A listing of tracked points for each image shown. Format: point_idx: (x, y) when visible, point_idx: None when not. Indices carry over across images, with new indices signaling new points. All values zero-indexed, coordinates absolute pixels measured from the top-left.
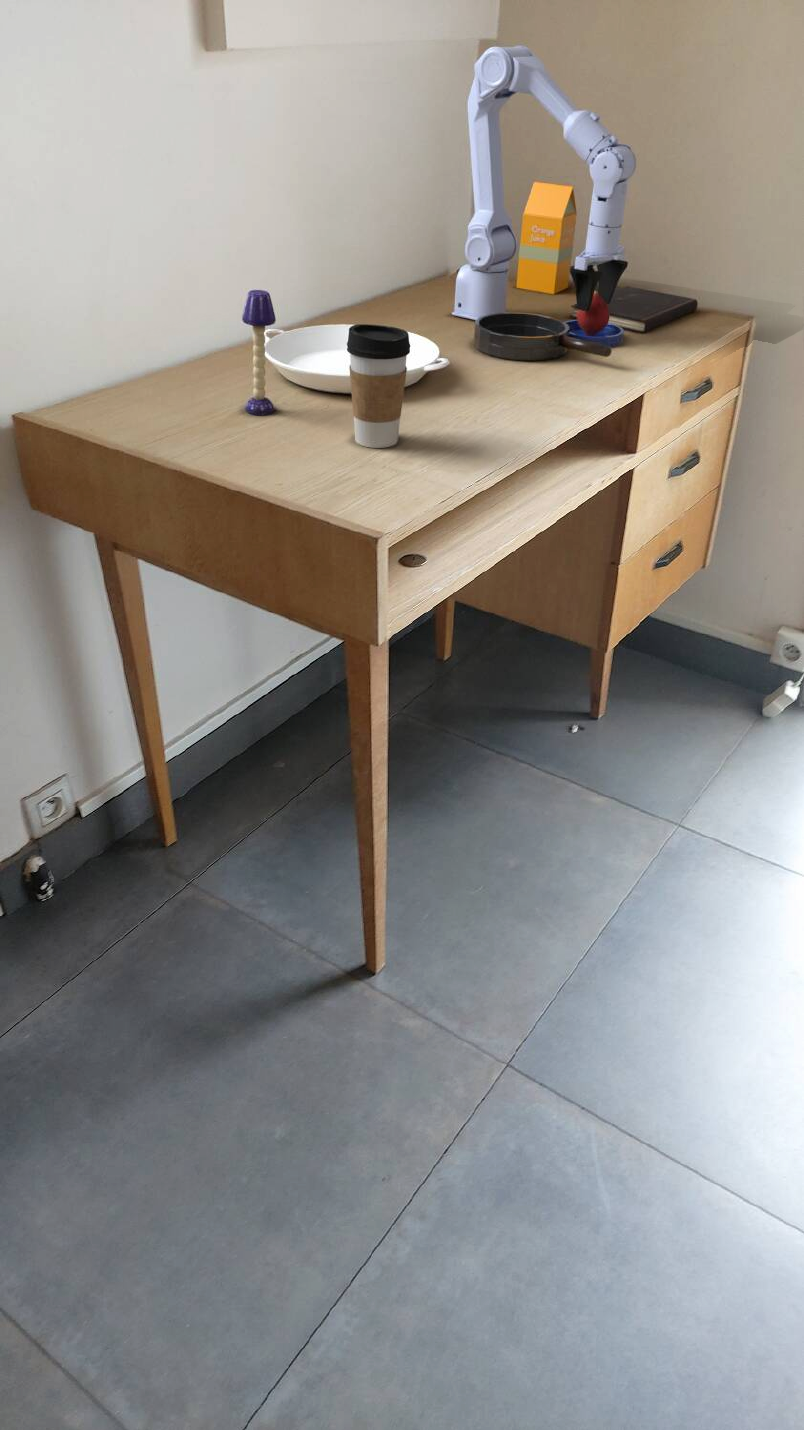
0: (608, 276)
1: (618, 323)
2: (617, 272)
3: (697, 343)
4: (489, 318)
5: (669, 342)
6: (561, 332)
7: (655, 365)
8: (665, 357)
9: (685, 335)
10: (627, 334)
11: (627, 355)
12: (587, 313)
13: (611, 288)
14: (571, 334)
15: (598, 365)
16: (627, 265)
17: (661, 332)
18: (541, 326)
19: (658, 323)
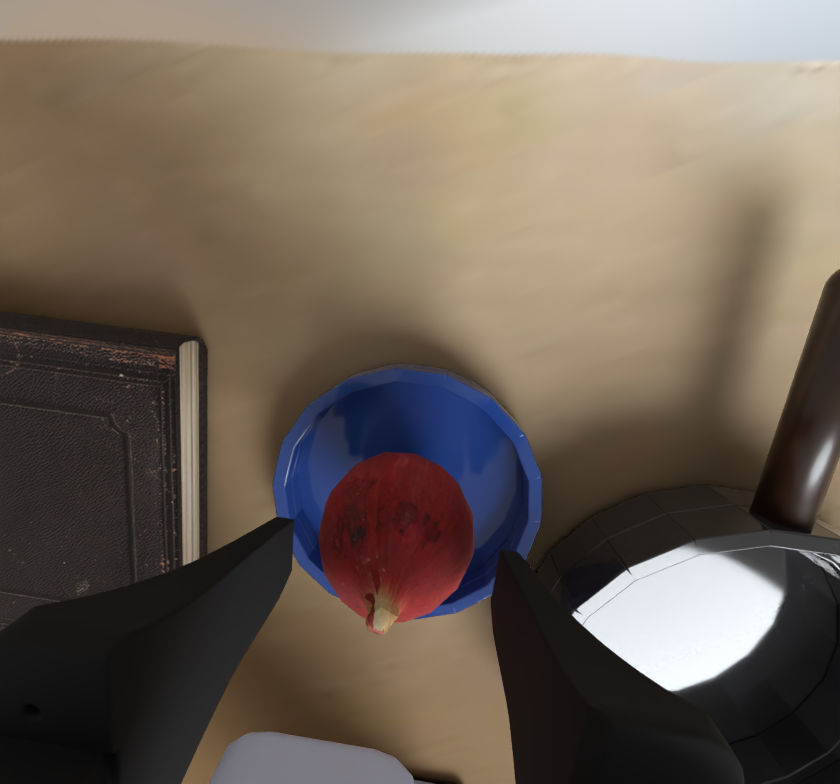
0: (204, 654)
1: (192, 456)
2: (177, 626)
3: (171, 84)
4: None
5: (244, 201)
6: (785, 547)
7: (624, 115)
8: (475, 125)
9: (96, 182)
10: (256, 389)
11: (544, 279)
12: (471, 550)
13: (251, 564)
14: (534, 536)
15: (755, 325)
16: (27, 616)
17: (131, 286)
18: None
19: (72, 321)
